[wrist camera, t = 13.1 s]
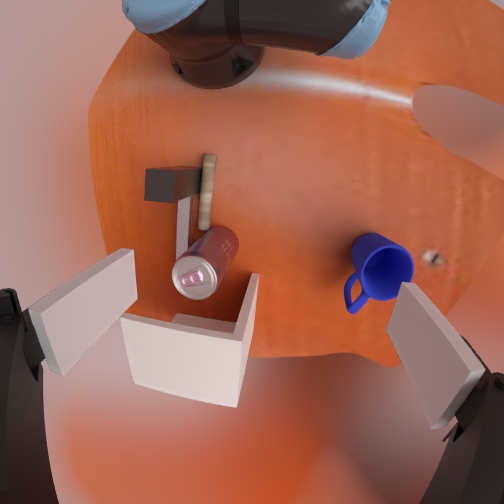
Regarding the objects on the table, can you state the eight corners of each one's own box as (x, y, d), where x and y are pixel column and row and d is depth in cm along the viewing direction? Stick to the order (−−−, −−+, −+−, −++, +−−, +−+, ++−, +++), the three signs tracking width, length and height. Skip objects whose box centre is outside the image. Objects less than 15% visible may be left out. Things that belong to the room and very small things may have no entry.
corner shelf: (175, 262, 48) (119, 316, 30) (259, 273, 46) (242, 341, 28) (177, 317, 52) (134, 383, 33) (253, 330, 50) (236, 407, 32)
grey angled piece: (180, 166, 42) (145, 168, 31) (231, 170, 42) (211, 172, 30) (175, 263, 48) (145, 292, 37) (221, 270, 47) (202, 304, 36)
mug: (321, 274, 45) (329, 302, 36) (365, 217, 41) (386, 232, 32) (356, 298, 46) (370, 329, 36) (399, 245, 42) (424, 266, 33)
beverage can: (199, 232, 45) (162, 263, 31) (231, 220, 44) (206, 247, 30) (212, 264, 47) (182, 306, 33) (244, 253, 46) (226, 294, 32)
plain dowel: (204, 154, 41) (203, 154, 40) (216, 155, 42) (216, 155, 40) (198, 226, 45) (197, 229, 43) (210, 227, 45) (209, 230, 44)
